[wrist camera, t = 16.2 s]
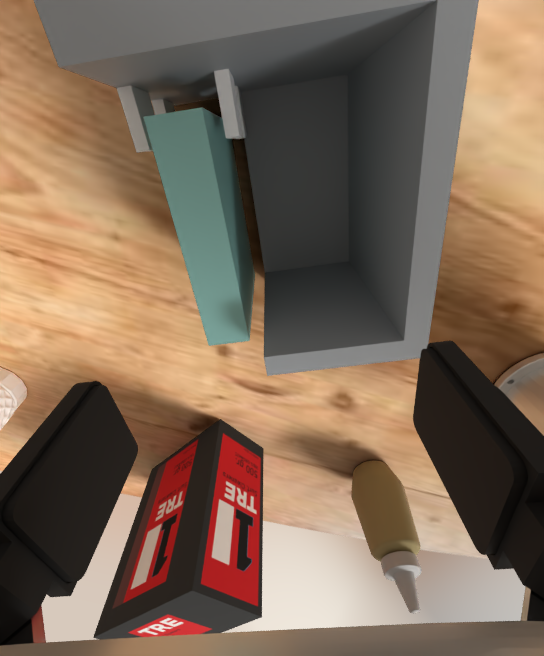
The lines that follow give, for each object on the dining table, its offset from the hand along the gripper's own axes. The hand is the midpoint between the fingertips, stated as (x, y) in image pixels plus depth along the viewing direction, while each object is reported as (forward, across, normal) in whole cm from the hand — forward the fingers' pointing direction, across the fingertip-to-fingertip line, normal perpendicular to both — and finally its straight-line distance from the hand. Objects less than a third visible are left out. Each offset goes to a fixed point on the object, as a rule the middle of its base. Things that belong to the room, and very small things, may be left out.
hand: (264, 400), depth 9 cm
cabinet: (+25, -1, -4) cm, 25 cm away
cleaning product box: (+25, +15, +34) cm, 45 cm away
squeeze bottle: (+26, -11, +42) cm, 50 cm away
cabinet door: (+25, +4, -2) cm, 25 cm away
